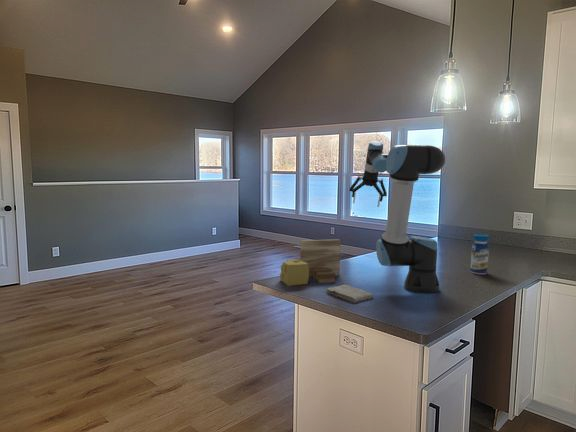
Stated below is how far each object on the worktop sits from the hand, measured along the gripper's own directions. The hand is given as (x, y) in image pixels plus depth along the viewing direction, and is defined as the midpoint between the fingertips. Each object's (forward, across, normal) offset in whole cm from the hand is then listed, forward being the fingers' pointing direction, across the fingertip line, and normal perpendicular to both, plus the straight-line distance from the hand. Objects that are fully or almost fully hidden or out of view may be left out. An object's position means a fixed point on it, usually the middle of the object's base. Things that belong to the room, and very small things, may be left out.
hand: (365, 204), depth 234 cm
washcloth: (+4, +2, +72) cm, 72 cm away
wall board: (+16, +15, +50) cm, 54 cm away
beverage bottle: (+20, -63, +19) cm, 69 cm away
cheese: (+13, +27, +60) cm, 67 cm away
